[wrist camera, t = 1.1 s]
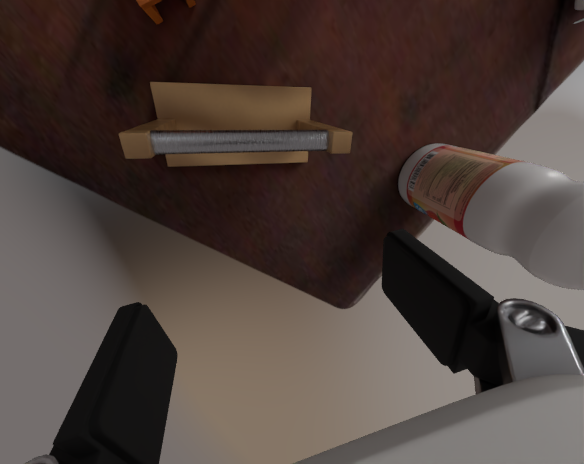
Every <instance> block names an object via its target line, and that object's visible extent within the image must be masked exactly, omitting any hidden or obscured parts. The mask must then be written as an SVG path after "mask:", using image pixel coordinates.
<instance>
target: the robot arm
mask: <svg viewBox="0 0 584 464" xmlns="http://www.w3.org/2000/svg"><path fill="white" fill-rule="evenodd" d="M382 289H383V291H384V293H385V295H386V296H387V297H388V298H389V300H390V301H391V302H392V303H393V305H394V306H395V307H396V308H397V310H398V311H399V312H400V313H401V315H402V316H403V317H404V318H405V320H406V321H407V322H408V323H409V324H410V326H411V327H412V328H413V330H414V331H415V332H416V333H417V335H418V336H419V337H420V338H421V339H422V341H423V342H424V343H425V344H426V346H427V347H428V348H429V349H430V351H431V352H432V353H433V354H434V356H435V357H436V358H437V359H438V361H439V362H440V363H441V364H443V365H445V366H448V367H449V368H450V369H451V371H452V372H453V373H457V372H460V371H462V370H465V369H468V370H469V371H470V372H471V374H472V375H473V376H474V381H475V391H476V395H473V396H470V397H468V398H465V399H462V400H459V401H456V402H453V403H451V404H448V405H446V406H443V407H440V408H438V409H435V410H432V411H430V412H427V413H424V414H422V415H419V416H416V417H414V418H411V419H409V420H406V421H403V422H400V423H398V424H395V425H393V426H390V427H387V428H385V429H382V430H379V431H377V432H374V433H372V434H369V435H367V436H364V437H361V438H358V439H356V440H353V441H351V442H348V443H345V444H343V445H340V446H337V447H335V448H332V449H330V450H327V451H324V452H322V453H320V454H317V455H314V456H311V457H309V458H307V459H304V460H301V461H298V462H296V463H293V464H584V330H579V329H576V328H572V327H568V326H564V324H563V322H562V321H561V320H560V318H559V317H558V316H557V315H556V314H554V313H553V312H552V311H550V310H549V309H547V308H545V307H544V306H542V305H539V304H537V303H534V302H532V301H528V300H524V299H506V300H504V301H502V302H500V304H499V303H498V302H496V301H495V300H494V297H493V296H492V295H490V294H489V293H488V292H486V291H485V290H484V289H482V288H481V287H480V286H479V285H477V284H476V283H474V282H473V281H472V280H471V279H469V278H468V277H466V276H465V275H464V274H463V273H461V272H460V271H459V270H457V269H456V268H454V267H453V266H452V265H450V264H449V263H448V262H447V261H445V260H444V259H443V258H441V257H440V256H439V255H437V254H436V253H435V252H433V251H432V250H431V249H429V248H428V247H427V246H425V245H424V244H423V243H421V242H420V241H419V240H417V239H416V238H415V237H413V236H412V235H411V234H410V233H408V232H407V231H406V230H404V229H399V230H396V231H392V232H389V233H388V234H387V237H385V238H384V244H383V268H382ZM176 363H177V351H176V348H175V347H174V345H173V344H172V342H171V341H170V339H169V338H168V336H167V335H166V333H165V332H164V330H163V329H162V327H161V326H160V324H159V323H158V321H157V320H156V318H155V317H154V315H153V313H152V312H151V310H150V309H149V307H148V306H147V305H142V304H141V303H139V302H137V303H133V304H129V305H126V306H122V307H120V308H119V309H118V311H117V313H116V315H115V317H114V319H113V321H112V323H111V325H110V327H109V329H108V331H107V333H106V336H105V337H104V339H103V341H102V344H101V346H100V348H99V350H98V352H97V354H96V356H95V358H94V360H93V362H92V364H91V366H90V368H89V370H88V372H87V375H86V376H85V378H84V380H83V382H82V385H81V387H80V389H79V391H78V393H77V395H76V397H75V399H74V401H73V403H72V405H71V407H70V409H69V411H68V413H67V415H66V417H65V420H64V421H63V424H62V425H61V427H60V429H59V432H58V434H57V436H56V438H55V440H54V442H53V445H54V446H53V448H52V450H51V452H50V454H49V455H43V456H39V457H36V458H34V459H32V460H30V461H28V462H26V463H25V464H159V459H160V454H161V448H162V443H163V437H164V431H165V425H166V420H167V414H168V408H169V402H170V396H171V391H172V385H173V380H174V374H175V368H176Z"/></svg>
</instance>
